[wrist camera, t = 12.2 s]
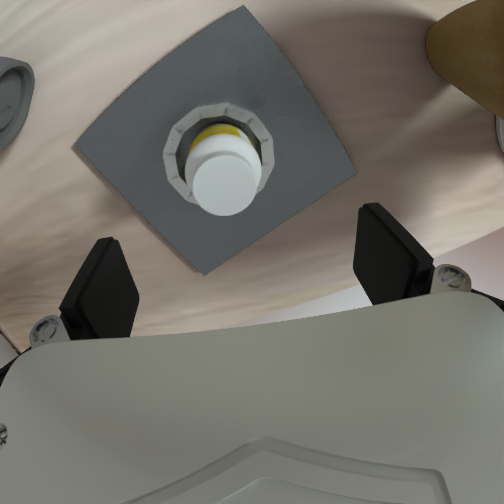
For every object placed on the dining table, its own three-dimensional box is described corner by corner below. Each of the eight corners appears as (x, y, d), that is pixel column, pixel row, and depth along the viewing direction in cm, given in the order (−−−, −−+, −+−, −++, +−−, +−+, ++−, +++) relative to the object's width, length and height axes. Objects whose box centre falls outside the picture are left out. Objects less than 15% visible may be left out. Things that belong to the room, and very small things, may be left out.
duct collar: (353, 169, 29) (370, 182, 26) (204, 270, 34) (203, 293, 30) (242, 7, 19) (247, -5, 16) (78, 142, 24) (61, 152, 20)
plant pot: (380, 66, 23) (504, 80, 10) (418, -25, 16) (523, -43, 3) (463, 133, 27) (561, 182, 14) (493, 49, 20) (586, 71, 7)
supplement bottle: (179, 154, 25) (162, 193, 17) (218, 109, 23) (219, 123, 15) (224, 188, 28) (229, 240, 19) (262, 146, 26) (287, 181, 18)
